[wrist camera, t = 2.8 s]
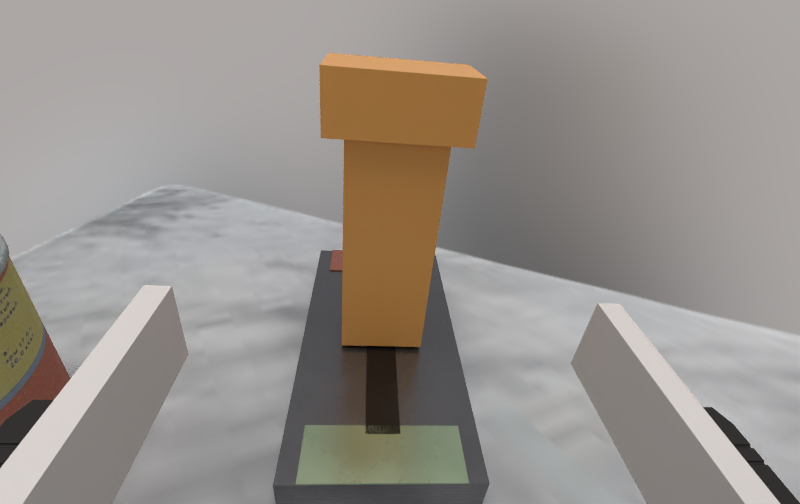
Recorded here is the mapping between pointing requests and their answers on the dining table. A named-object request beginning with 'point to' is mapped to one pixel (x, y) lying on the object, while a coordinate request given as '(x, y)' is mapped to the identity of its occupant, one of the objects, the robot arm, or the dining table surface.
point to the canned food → (24, 346)
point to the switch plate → (378, 413)
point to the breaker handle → (394, 181)
